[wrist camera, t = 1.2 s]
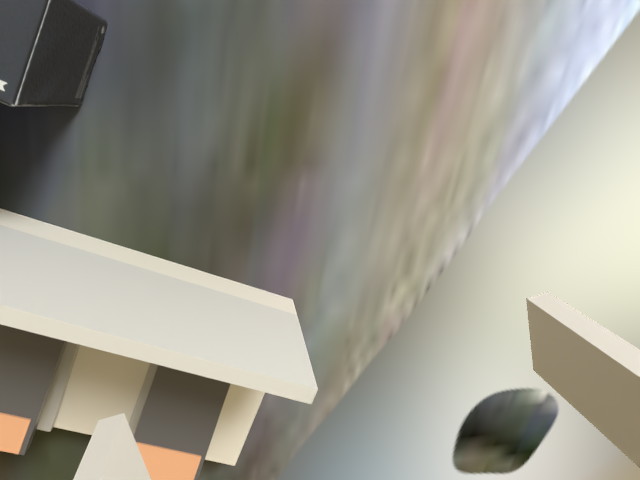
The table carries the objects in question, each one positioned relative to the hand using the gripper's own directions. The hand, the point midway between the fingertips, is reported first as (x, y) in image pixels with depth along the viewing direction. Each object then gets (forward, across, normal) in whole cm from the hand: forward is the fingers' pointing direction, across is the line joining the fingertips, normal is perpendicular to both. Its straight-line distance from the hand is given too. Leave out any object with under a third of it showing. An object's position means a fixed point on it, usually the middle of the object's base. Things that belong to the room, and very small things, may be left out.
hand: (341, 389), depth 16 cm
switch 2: (+17, -10, -10) cm, 22 cm away
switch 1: (+17, -19, -4) cm, 26 cm away
